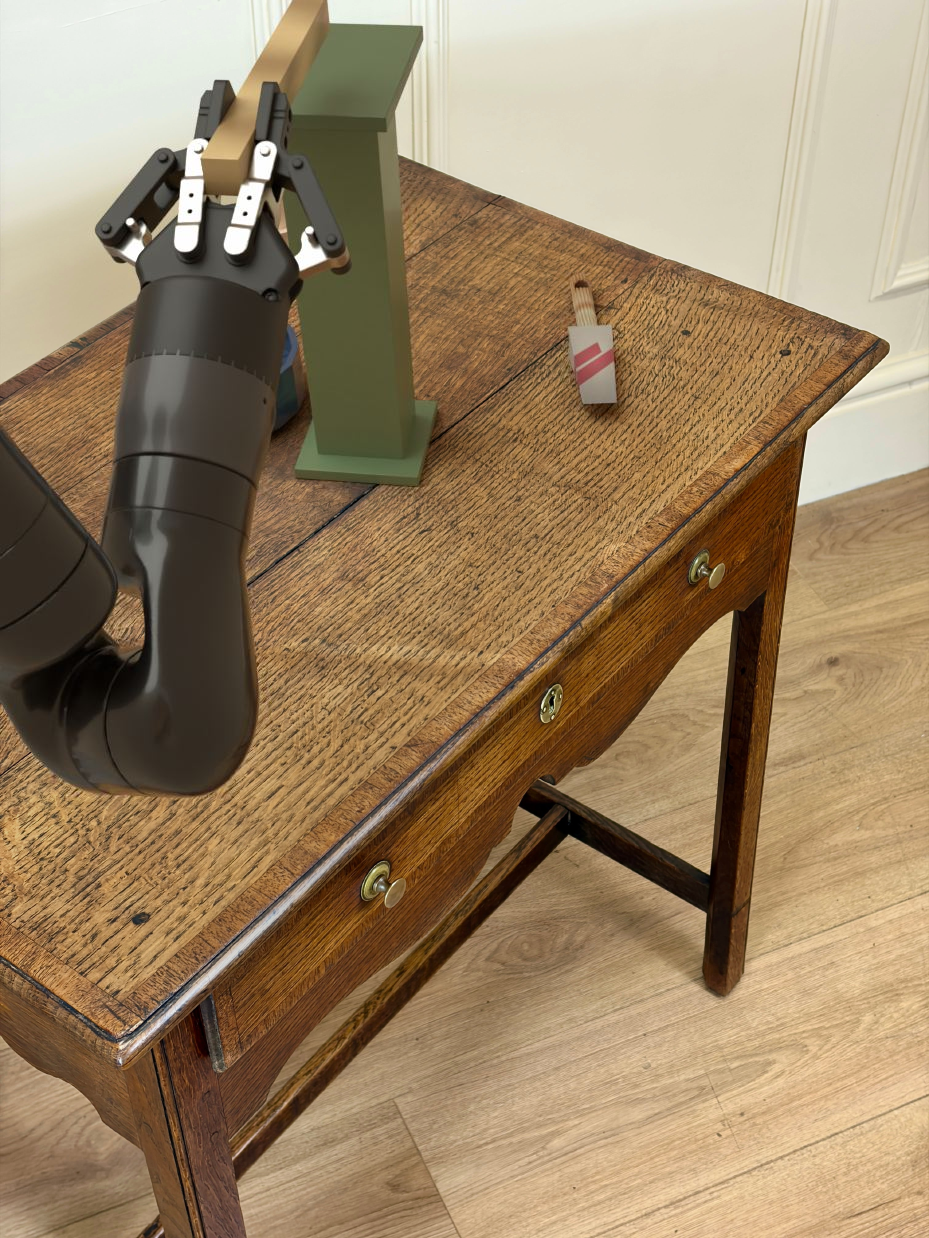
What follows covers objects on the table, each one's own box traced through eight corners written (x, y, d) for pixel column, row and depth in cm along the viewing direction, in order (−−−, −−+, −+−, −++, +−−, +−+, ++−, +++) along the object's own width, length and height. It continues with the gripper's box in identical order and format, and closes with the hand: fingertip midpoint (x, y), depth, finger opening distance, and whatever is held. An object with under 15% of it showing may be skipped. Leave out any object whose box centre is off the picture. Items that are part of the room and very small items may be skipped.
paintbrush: (576, 388, 106) (560, 269, 121) (575, 417, 108) (559, 295, 122) (623, 387, 106) (602, 267, 120) (622, 415, 108) (600, 293, 122)
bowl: (129, 447, 107) (114, 393, 103) (176, 355, 116) (164, 302, 112) (285, 458, 106) (276, 403, 102) (320, 364, 115) (313, 310, 111)
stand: (289, 494, 103) (226, 111, 80) (327, 389, 112) (280, 21, 90) (414, 503, 101) (385, 117, 79) (441, 396, 111) (422, 25, 89)
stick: (244, 197, 66) (238, 159, 64) (206, 195, 66) (199, 157, 64) (330, 29, 80) (327, -4, 79) (298, 28, 80) (295, -5, 79)
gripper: (321, 369, 60) (367, 46, 64) (36, 352, 62) (99, 38, 66) (349, 432, 67) (389, 137, 71) (94, 415, 69) (147, 128, 73)
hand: (249, 91), depth 69 cm, fingers closed on stick, 2 cm apart
